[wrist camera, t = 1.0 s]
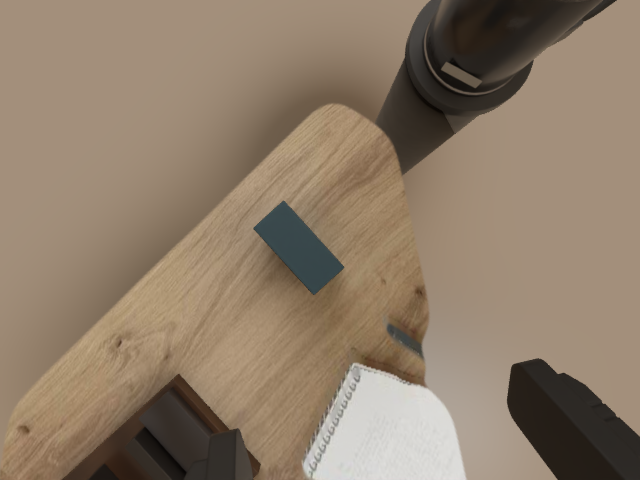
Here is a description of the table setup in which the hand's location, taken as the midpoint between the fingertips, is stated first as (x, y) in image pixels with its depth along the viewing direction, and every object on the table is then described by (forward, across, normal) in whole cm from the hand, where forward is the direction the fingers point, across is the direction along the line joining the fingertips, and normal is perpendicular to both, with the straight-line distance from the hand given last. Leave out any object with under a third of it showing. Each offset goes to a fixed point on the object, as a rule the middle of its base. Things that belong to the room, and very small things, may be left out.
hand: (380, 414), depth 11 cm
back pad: (+26, 0, +7) cm, 27 cm away
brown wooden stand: (+19, +18, +25) cm, 36 cm away
